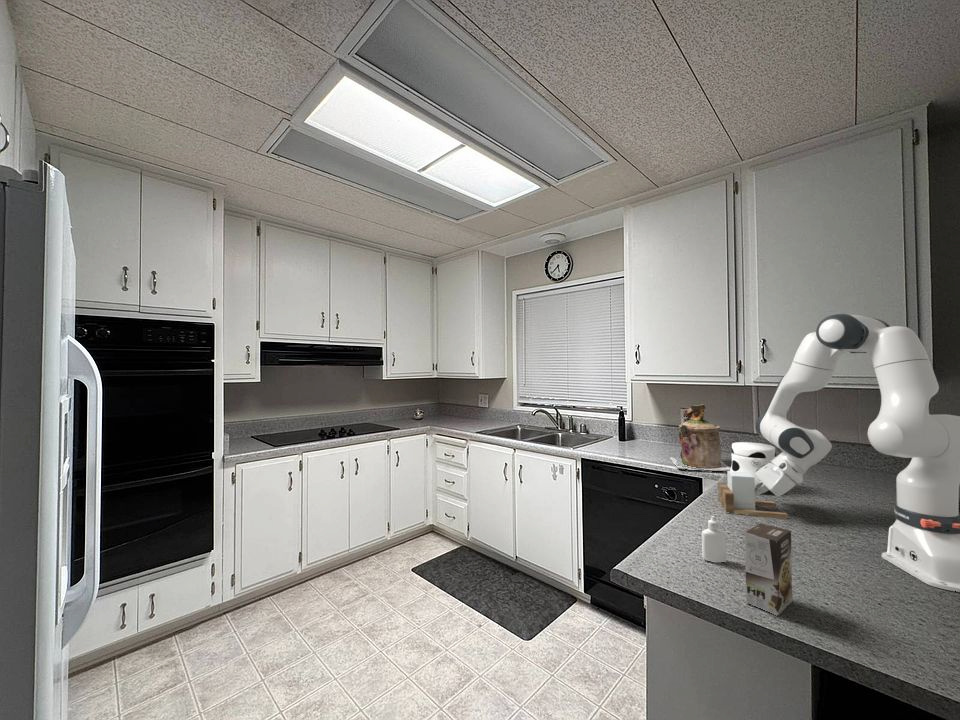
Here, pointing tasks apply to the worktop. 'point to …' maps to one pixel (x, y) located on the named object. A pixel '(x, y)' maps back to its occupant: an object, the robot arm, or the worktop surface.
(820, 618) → the worktop surface
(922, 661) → the worktop surface
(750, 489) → the supplement box
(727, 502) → the stop board
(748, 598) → the coffee box
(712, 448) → the cookie jar
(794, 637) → the worktop surface
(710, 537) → the eye dropper bottle
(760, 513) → the guide rails
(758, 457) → the milk container
